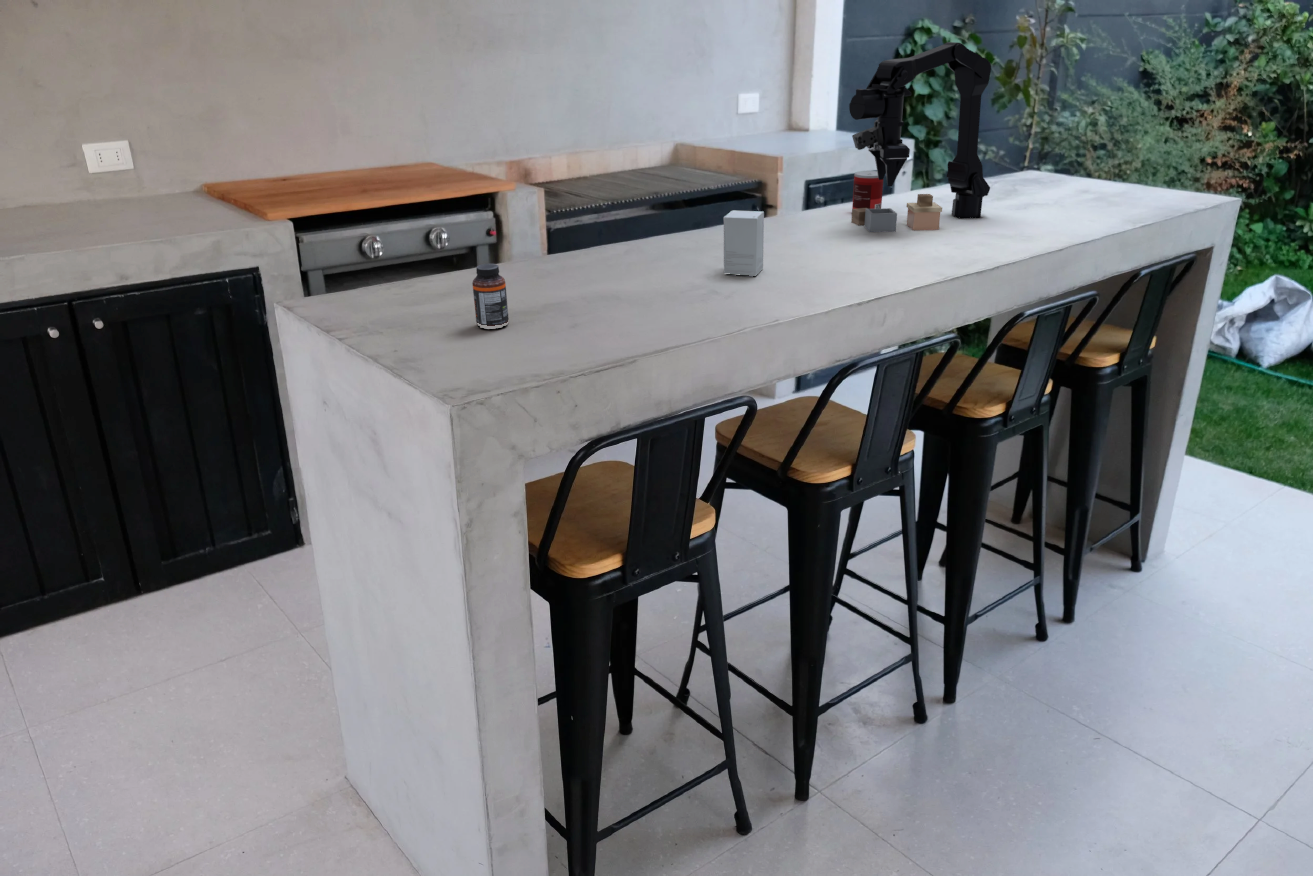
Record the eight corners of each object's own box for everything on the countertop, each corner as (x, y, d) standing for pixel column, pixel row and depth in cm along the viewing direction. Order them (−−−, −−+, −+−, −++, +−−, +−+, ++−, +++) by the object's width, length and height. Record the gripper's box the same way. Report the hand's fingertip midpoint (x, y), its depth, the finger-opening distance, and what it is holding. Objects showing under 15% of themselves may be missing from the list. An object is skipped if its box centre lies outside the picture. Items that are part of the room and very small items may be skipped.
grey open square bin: (889, 228, 251) (890, 208, 249) (895, 233, 245) (897, 213, 243) (864, 228, 251) (865, 208, 249) (869, 234, 245) (871, 214, 243)
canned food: (879, 211, 269) (882, 170, 265) (882, 217, 262) (885, 175, 258) (850, 211, 270) (853, 170, 266) (853, 217, 263) (855, 175, 258)
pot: (931, 226, 252) (933, 206, 250) (938, 231, 246) (940, 211, 244) (906, 226, 252) (908, 207, 250) (912, 232, 246) (914, 212, 244)
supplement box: (764, 268, 217) (765, 210, 211) (755, 277, 210) (757, 218, 205) (731, 266, 219) (732, 209, 214) (722, 275, 212) (722, 216, 207)
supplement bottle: (477, 321, 185) (472, 262, 181) (509, 320, 186) (504, 261, 181) (475, 331, 180) (469, 270, 175) (508, 330, 180) (503, 269, 176)
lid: (934, 206, 250) (935, 192, 249) (942, 211, 244) (943, 197, 242) (906, 206, 250) (907, 192, 249) (913, 212, 244) (915, 198, 242)
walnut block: (865, 223, 256) (866, 207, 255) (872, 226, 253) (873, 210, 251) (851, 224, 255) (852, 208, 254) (858, 227, 252) (859, 211, 250)
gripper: (848, 112, 245) (844, 177, 251) (864, 122, 228) (860, 190, 234) (893, 111, 245) (888, 176, 252) (912, 120, 228) (907, 189, 235)
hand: (885, 182), depth 243 cm, fingers open, 9 cm apart
